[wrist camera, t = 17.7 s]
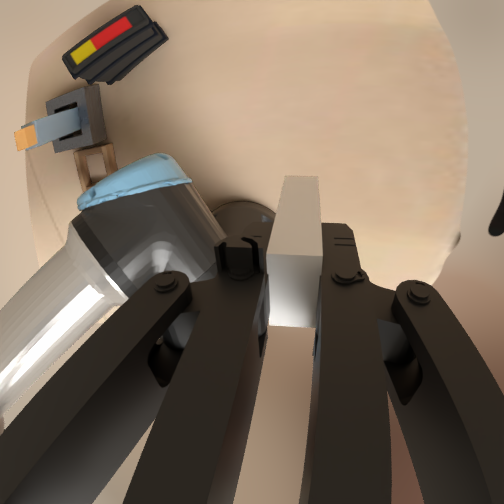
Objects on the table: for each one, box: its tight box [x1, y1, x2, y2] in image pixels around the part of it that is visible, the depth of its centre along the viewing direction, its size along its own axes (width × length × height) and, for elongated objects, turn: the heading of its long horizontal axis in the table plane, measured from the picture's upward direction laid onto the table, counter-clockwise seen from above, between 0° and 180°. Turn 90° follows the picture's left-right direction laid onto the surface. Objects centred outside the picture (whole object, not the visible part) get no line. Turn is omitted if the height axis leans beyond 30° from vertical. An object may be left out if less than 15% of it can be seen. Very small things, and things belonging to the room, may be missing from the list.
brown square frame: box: [74, 143, 118, 192], centre depth 46 cm, size 8×8×2 cm
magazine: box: [62, 5, 168, 85], centre depth 30 cm, size 4×13×15 cm, turn 121°
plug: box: [14, 107, 81, 151], centre depth 36 cm, size 4×4×15 cm
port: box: [46, 84, 107, 153], centre depth 41 cm, size 10×10×4 cm
